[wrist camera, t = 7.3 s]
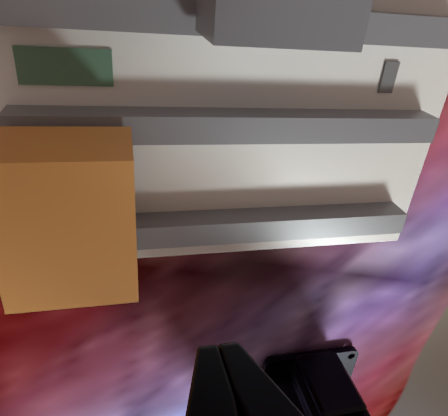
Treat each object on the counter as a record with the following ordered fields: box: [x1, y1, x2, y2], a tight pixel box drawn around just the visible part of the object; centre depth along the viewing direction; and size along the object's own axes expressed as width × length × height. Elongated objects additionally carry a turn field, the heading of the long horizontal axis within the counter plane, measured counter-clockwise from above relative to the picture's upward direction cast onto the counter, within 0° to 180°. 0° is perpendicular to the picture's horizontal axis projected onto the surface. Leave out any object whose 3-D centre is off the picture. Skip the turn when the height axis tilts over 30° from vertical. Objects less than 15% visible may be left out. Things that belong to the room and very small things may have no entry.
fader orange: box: [0, 126, 139, 314], centre depth 14 cm, size 5×4×4 cm
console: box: [0, 0, 448, 258], centre depth 15 cm, size 16×18×3 cm
